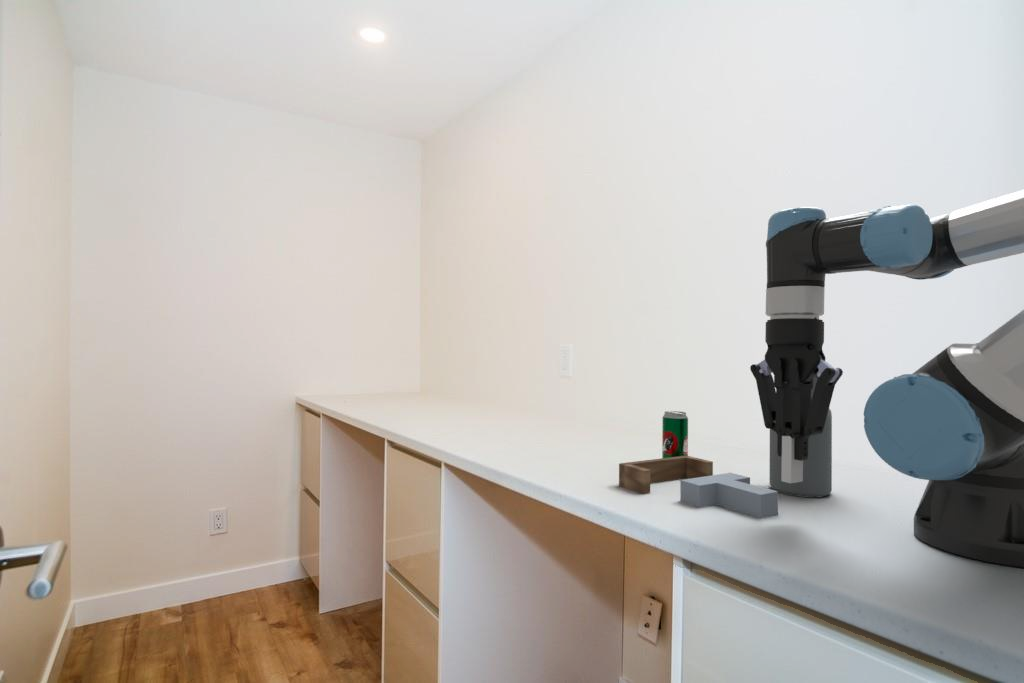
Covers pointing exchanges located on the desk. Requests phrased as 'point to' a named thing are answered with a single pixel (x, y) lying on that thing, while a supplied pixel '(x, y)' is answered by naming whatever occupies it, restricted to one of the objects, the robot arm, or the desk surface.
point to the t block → (730, 494)
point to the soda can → (674, 434)
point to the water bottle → (807, 463)
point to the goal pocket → (661, 471)
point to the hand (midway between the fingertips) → (792, 481)
